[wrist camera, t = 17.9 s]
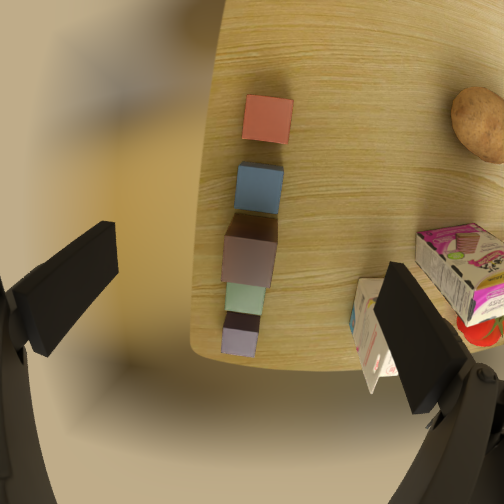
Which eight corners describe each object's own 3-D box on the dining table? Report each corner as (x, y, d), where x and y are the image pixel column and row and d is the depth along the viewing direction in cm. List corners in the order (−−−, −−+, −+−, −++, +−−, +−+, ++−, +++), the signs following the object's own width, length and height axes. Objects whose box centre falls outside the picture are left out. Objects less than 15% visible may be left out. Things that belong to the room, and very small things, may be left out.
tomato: (511, 255, 37) (540, 278, 29) (499, 313, 42) (522, 340, 34) (452, 271, 39) (479, 301, 31) (444, 332, 44) (464, 365, 36)
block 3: (231, 263, 41) (227, 277, 38) (267, 268, 41) (266, 283, 38) (228, 294, 44) (224, 310, 40) (262, 299, 43) (261, 315, 40)
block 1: (250, 97, 32) (246, 94, 29) (291, 102, 32) (293, 99, 29) (245, 137, 34) (241, 138, 31) (286, 142, 34) (287, 144, 31)
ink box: (377, 324, 44) (404, 393, 30) (348, 324, 44) (368, 397, 31) (389, 277, 40) (428, 342, 27) (358, 276, 41) (388, 345, 27)
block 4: (227, 311, 45) (222, 327, 41) (260, 315, 45) (258, 332, 41) (224, 336, 47) (220, 352, 43) (256, 340, 47) (254, 357, 43)
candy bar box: (474, 220, 36) (542, 269, 21) (472, 250, 37) (533, 306, 22) (413, 229, 37) (475, 290, 22) (413, 262, 39) (466, 331, 24)
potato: (502, 168, 32) (535, 180, 24) (432, 146, 32) (464, 153, 25) (508, 108, 28) (541, 111, 20) (437, 77, 28) (470, 71, 21)
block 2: (242, 161, 36) (238, 165, 32) (283, 166, 36) (284, 171, 32) (238, 199, 38) (233, 208, 34) (277, 205, 38) (277, 214, 34)
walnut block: (230, 252, 41) (220, 281, 33) (234, 213, 38) (224, 235, 31) (271, 257, 41) (270, 288, 33) (277, 219, 38) (277, 242, 31)
